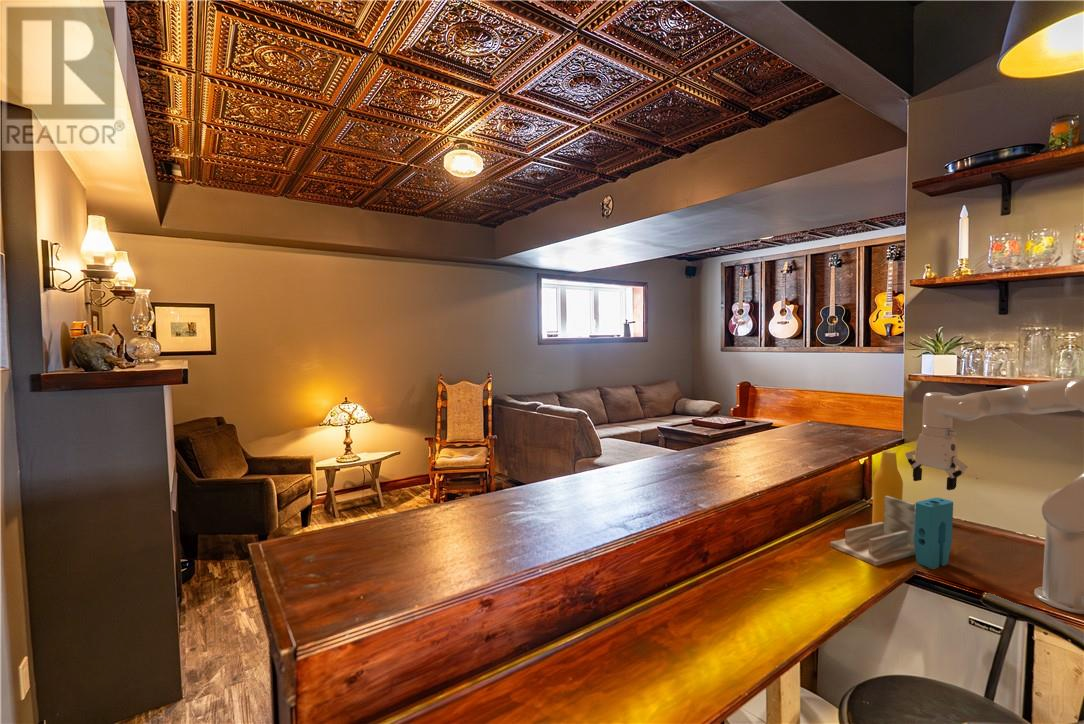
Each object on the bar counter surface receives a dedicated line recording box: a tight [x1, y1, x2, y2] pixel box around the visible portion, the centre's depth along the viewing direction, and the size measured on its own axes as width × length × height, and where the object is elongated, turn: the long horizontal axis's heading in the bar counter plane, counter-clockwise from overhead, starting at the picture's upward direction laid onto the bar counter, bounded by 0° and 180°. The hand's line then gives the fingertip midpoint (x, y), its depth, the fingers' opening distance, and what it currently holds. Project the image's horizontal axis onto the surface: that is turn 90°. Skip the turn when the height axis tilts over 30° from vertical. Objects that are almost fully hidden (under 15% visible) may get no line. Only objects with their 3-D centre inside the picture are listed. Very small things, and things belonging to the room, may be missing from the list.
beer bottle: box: [871, 450, 904, 524], centre depth 191 cm, size 9×9×29 cm
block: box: [914, 497, 954, 570], centre depth 162 cm, size 12×5×20 cm, turn 113°
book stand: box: [829, 496, 916, 567], centre depth 172 cm, size 16×24×16 cm, turn 112°
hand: (933, 484), depth 161 cm, fingers open, 9 cm apart
